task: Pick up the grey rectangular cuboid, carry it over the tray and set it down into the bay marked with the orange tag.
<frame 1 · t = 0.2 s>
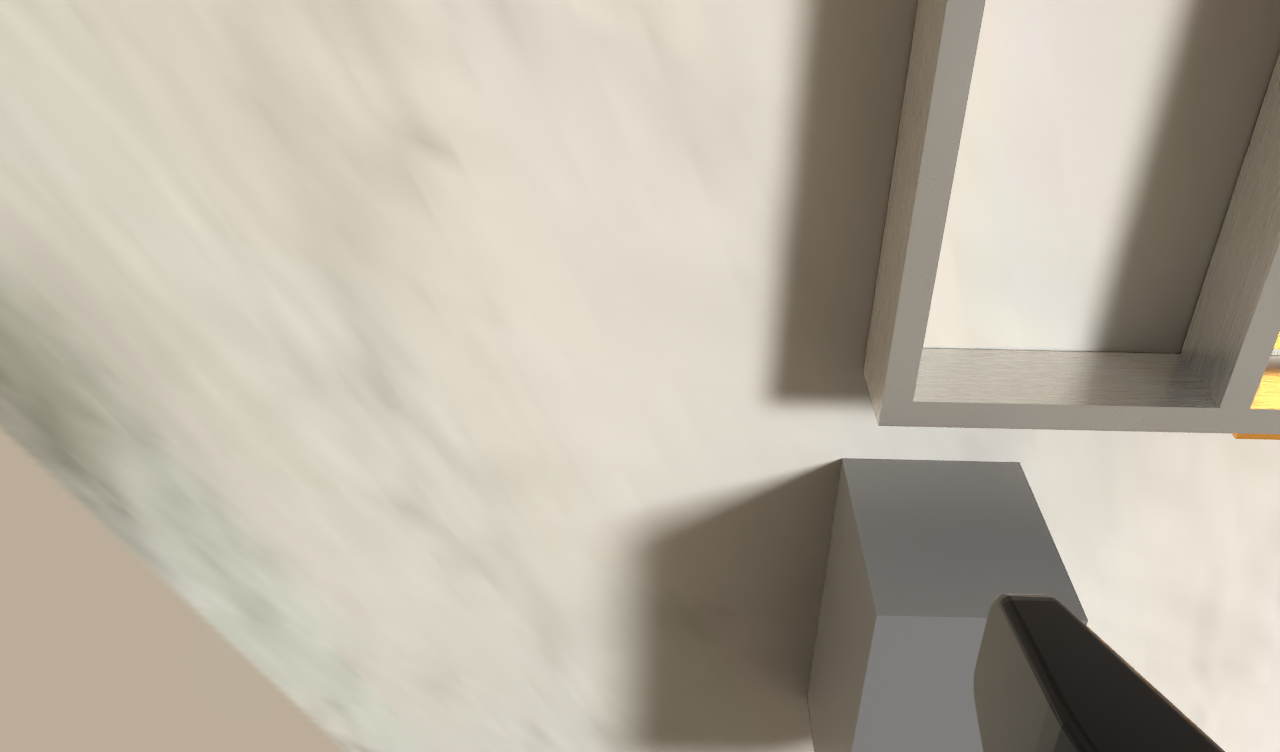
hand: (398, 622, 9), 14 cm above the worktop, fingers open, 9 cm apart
tray: (1271, 126, 21), on the worktop
grey rectangular cuboid: (903, 586, 28), on the worktop
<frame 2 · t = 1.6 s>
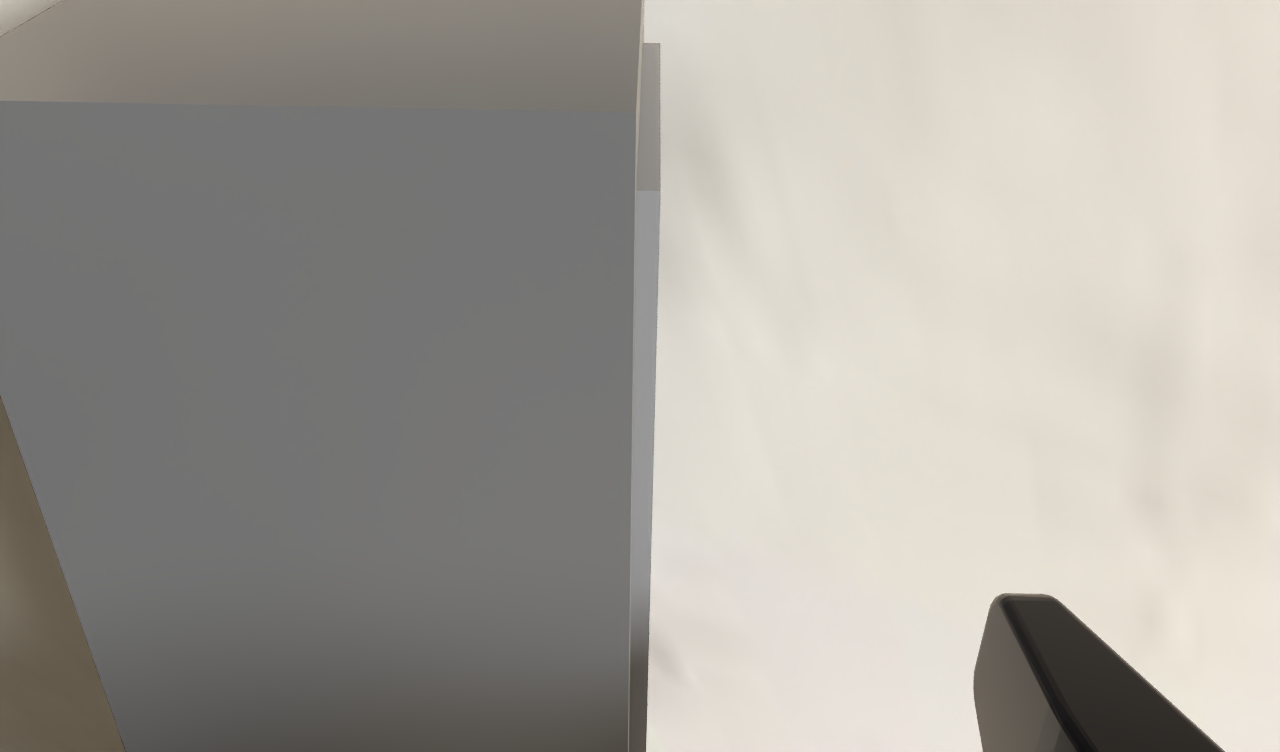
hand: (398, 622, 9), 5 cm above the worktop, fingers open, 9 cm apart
grey rectangular cuboid: (458, 303, 12), on the worktop
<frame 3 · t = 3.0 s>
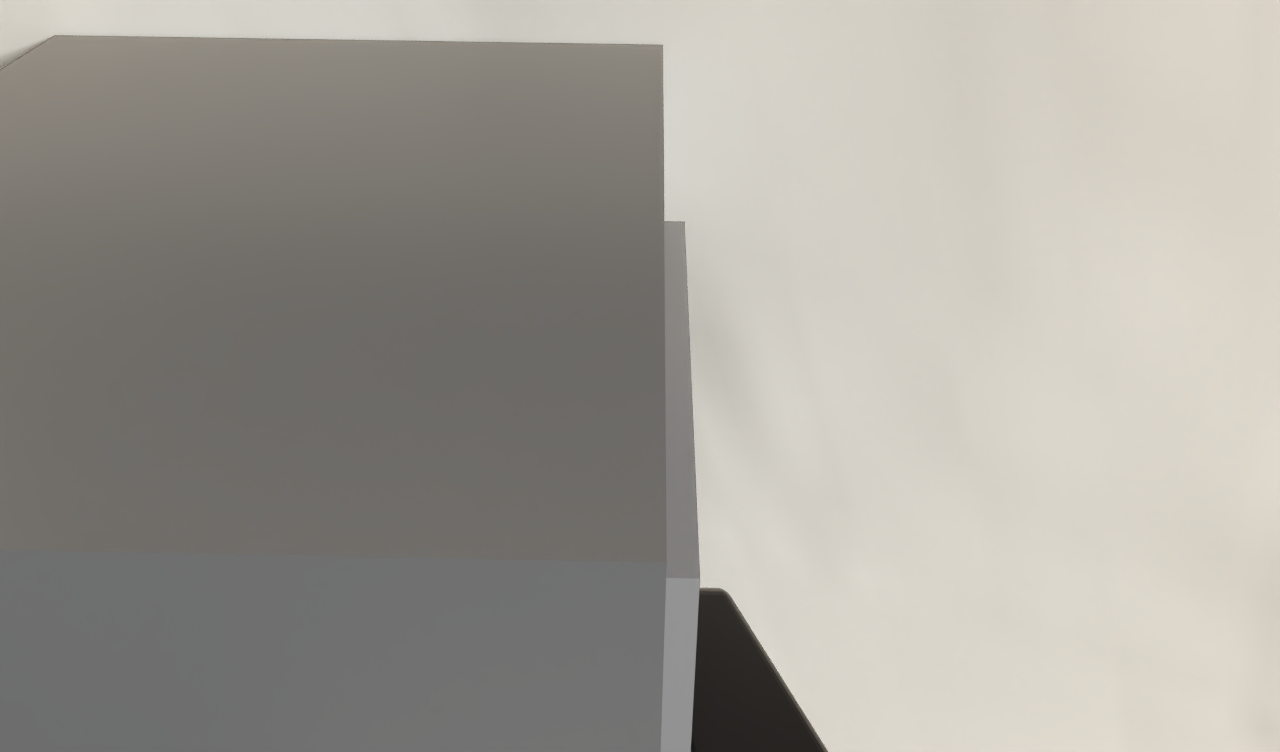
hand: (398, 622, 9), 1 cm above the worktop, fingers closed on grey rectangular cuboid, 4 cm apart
grey rectangular cuboid: (416, 512, 10), on the worktop, touching gripper
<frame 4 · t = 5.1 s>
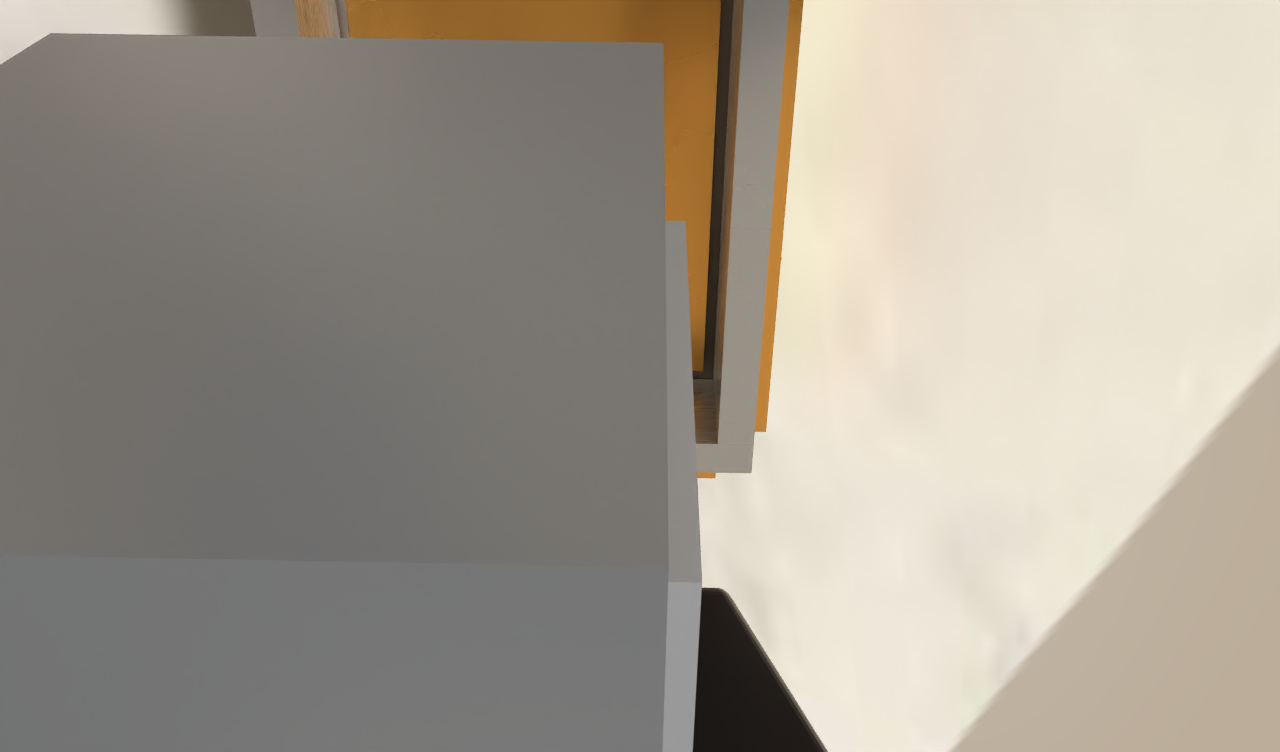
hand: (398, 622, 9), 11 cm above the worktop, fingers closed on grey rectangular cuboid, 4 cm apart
tray: (331, 108, 18), on the worktop
grey rectangular cuboid: (415, 514, 10), point 10 cm above the worktop, touching gripper
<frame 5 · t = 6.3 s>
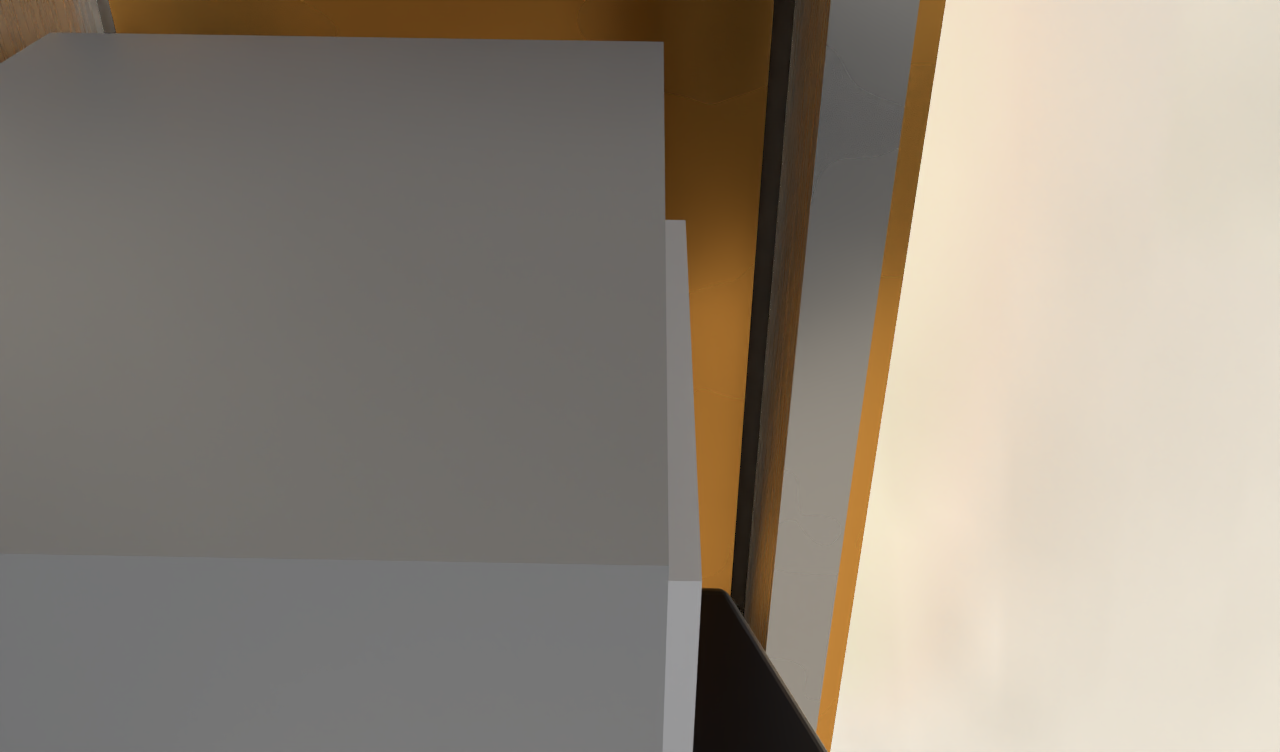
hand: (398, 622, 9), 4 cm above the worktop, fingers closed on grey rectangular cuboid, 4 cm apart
tray: (154, 354, 12), on the worktop
grey rectangular cuboid: (415, 513, 10), point 3 cm above the worktop, touching gripper
when the fingers open (3 cm above the worktop, at t = 7.2 s): grey rectangular cuboid drops 1 cm, resting on tray.
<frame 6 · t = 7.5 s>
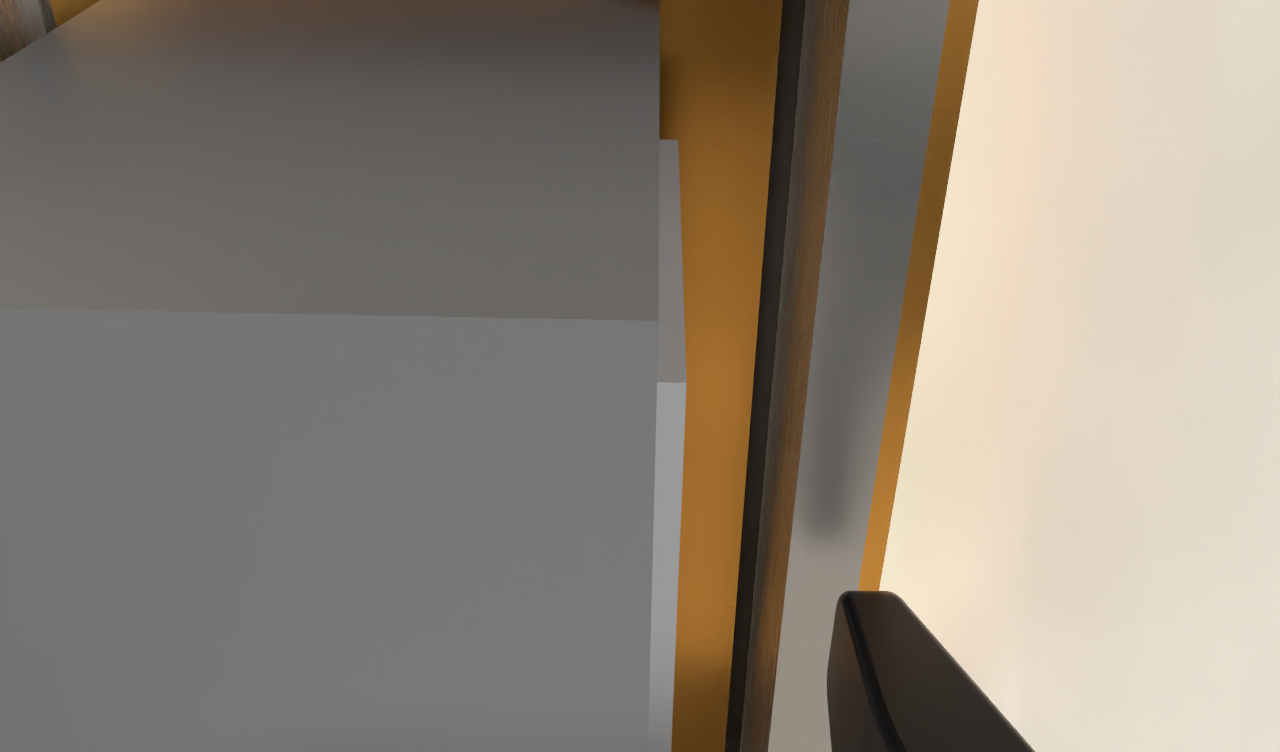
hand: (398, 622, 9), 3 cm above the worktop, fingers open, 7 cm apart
tray: (117, 405, 11), on the worktop
grey rectangular cuboid: (439, 419, 11), resting on tray
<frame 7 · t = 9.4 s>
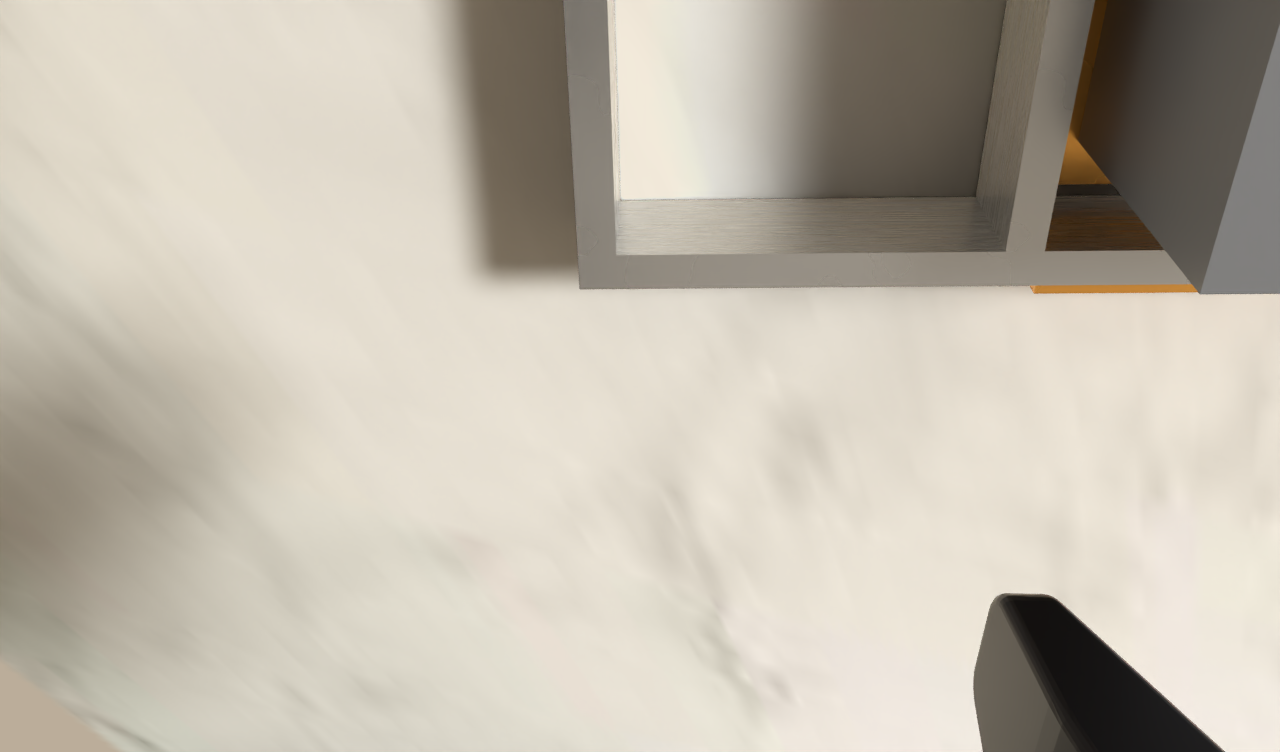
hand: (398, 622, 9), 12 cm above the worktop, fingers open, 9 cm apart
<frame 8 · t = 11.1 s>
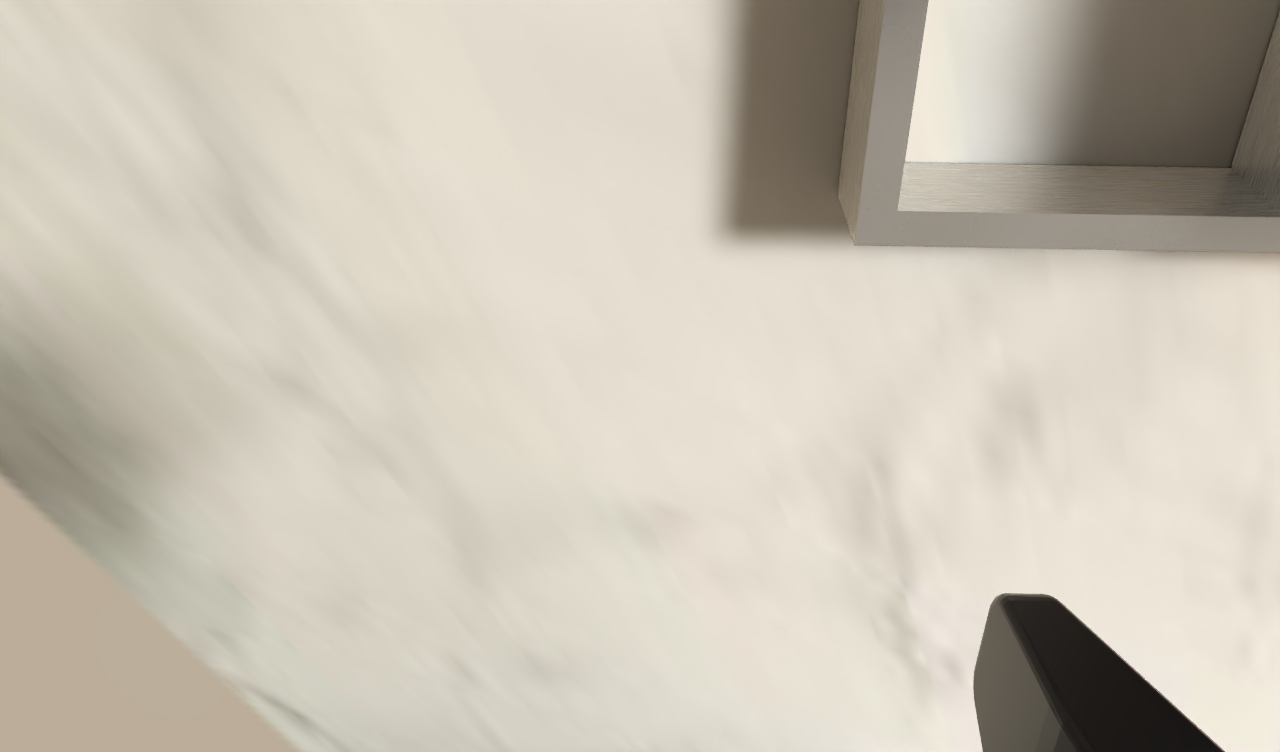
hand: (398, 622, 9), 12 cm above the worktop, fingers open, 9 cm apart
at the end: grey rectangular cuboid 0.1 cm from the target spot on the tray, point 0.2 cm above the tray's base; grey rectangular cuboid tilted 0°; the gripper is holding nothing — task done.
